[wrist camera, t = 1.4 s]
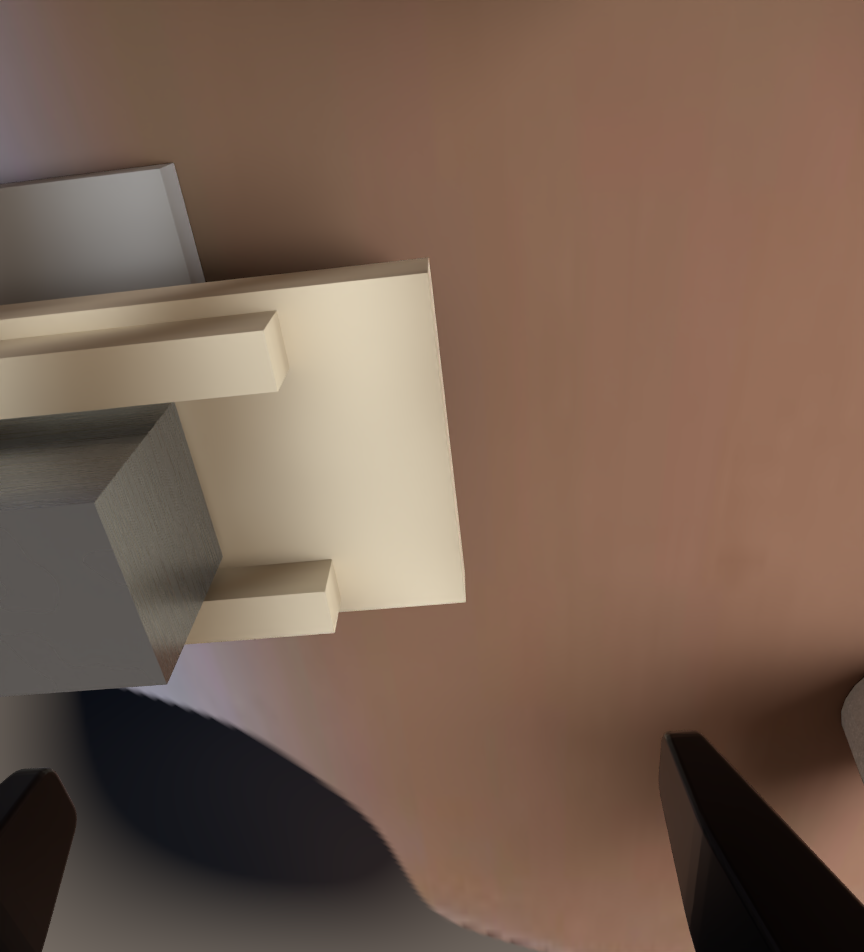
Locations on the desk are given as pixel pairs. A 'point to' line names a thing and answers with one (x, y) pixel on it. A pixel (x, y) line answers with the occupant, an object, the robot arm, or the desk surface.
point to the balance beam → (245, 396)
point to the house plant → (855, 724)
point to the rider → (99, 549)
